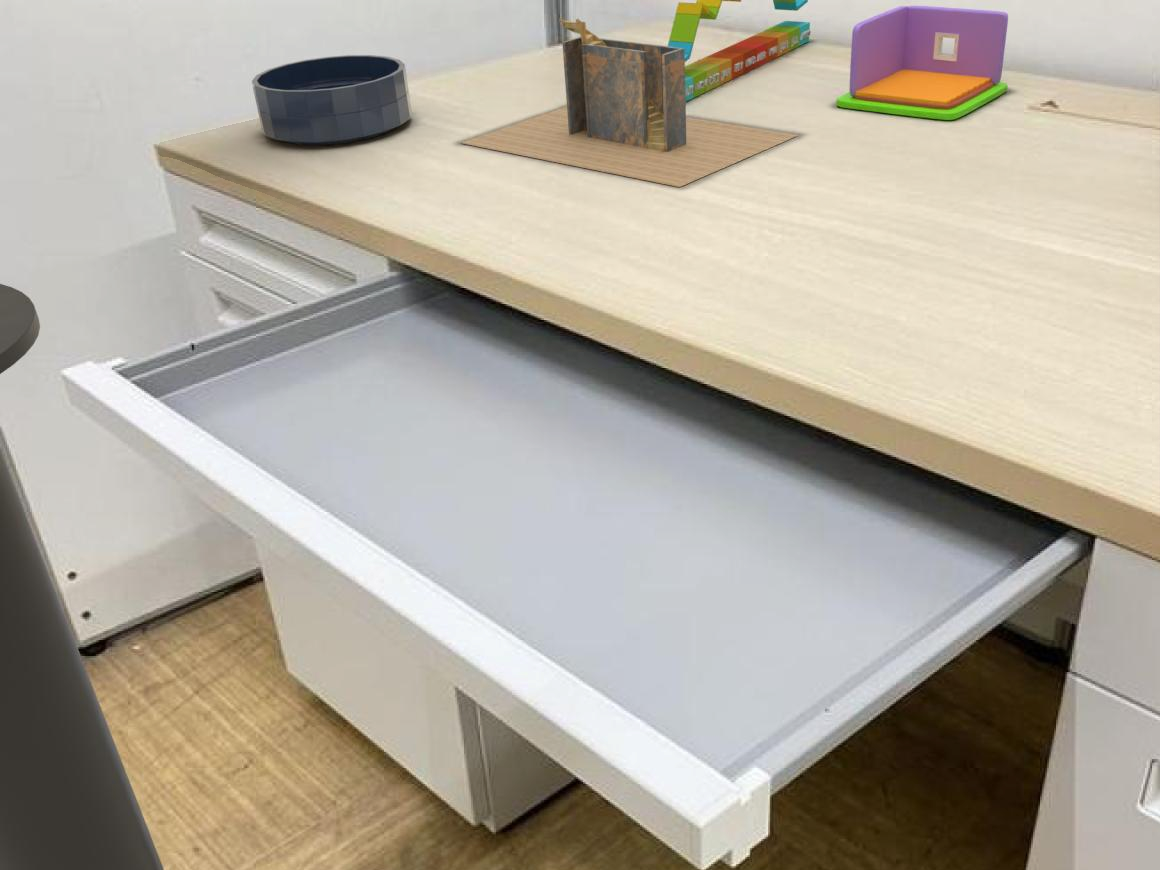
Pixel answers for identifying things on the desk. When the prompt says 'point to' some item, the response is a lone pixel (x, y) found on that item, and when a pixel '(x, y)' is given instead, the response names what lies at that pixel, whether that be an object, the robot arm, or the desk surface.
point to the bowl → (332, 99)
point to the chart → (736, 56)
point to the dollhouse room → (926, 62)
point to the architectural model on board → (628, 117)
